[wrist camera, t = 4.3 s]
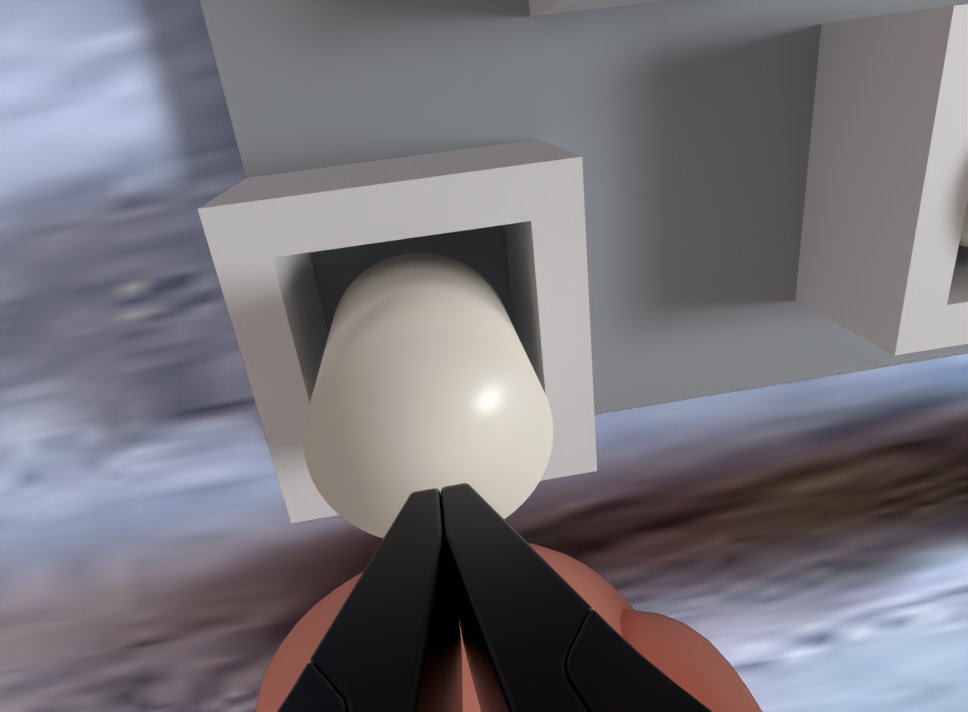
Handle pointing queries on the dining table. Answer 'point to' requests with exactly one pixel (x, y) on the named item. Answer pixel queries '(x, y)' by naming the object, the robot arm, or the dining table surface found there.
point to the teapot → (647, 632)
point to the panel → (599, 189)
